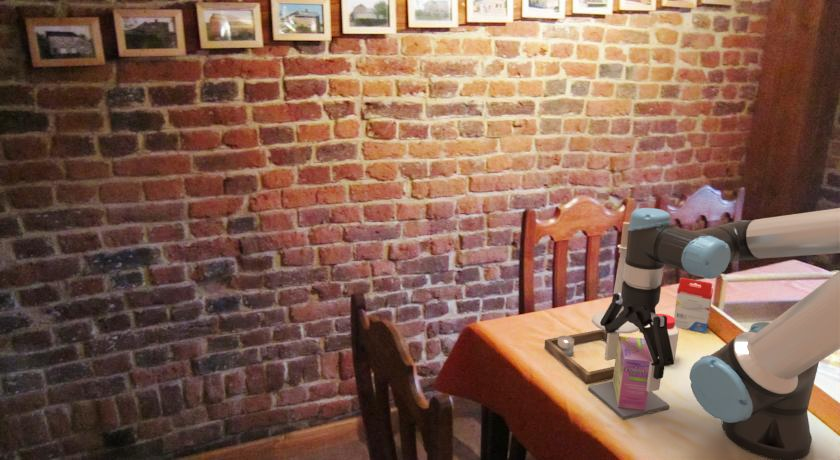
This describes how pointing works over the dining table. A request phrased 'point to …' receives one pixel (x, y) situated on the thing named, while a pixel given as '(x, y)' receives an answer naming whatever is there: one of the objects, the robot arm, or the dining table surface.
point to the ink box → (693, 305)
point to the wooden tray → (573, 365)
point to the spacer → (566, 344)
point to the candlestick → (618, 284)
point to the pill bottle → (670, 333)
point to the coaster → (609, 398)
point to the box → (631, 373)
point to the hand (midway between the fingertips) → (630, 373)
